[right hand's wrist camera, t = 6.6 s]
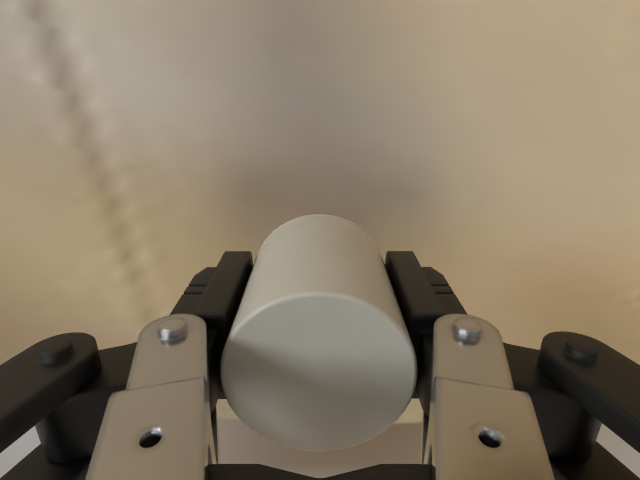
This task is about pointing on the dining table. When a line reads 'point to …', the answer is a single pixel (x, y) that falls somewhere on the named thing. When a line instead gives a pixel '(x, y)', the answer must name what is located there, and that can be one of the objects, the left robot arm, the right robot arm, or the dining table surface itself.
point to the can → (318, 340)
